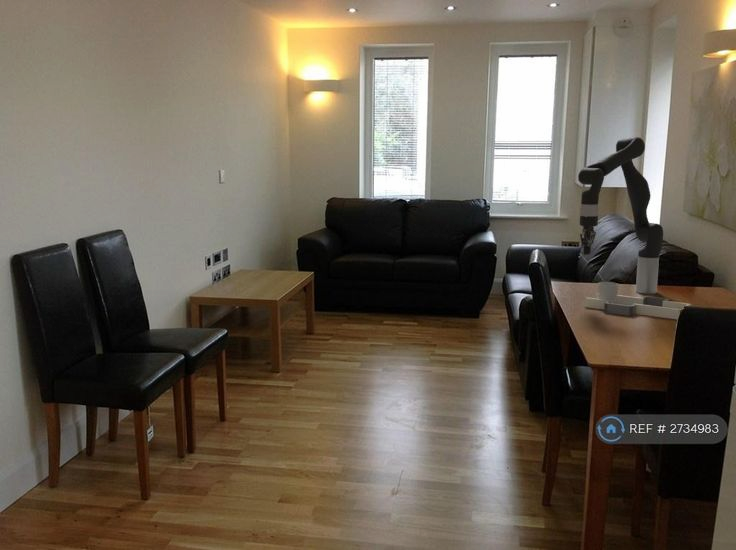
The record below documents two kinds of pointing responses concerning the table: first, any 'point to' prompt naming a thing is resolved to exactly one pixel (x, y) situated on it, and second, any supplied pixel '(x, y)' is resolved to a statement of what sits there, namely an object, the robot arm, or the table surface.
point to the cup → (608, 291)
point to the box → (638, 306)
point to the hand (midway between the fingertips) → (586, 254)
